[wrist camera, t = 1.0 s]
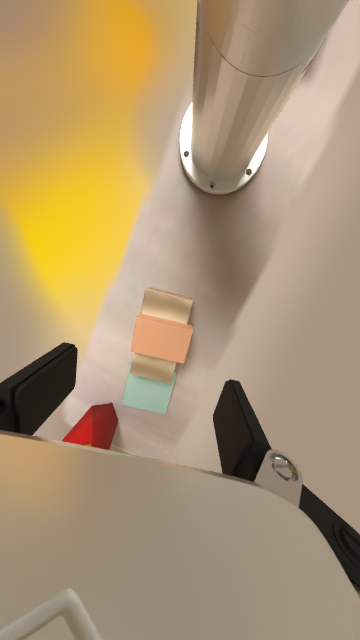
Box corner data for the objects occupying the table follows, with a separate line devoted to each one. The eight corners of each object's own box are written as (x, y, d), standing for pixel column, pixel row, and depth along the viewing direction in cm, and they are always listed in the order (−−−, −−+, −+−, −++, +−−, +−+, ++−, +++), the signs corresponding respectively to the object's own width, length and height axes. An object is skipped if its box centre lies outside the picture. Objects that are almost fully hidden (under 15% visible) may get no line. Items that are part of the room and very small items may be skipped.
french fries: (123, 422, 41) (90, 505, 26) (90, 427, 41) (40, 511, 27) (112, 391, 39) (69, 463, 24) (77, 396, 39) (14, 470, 25)
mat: (130, 361, 36) (129, 362, 36) (176, 372, 37) (176, 373, 37) (122, 404, 39) (122, 405, 39) (165, 413, 40) (165, 414, 40)
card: (140, 313, 29) (136, 317, 27) (192, 325, 30) (193, 330, 27) (134, 345, 31) (130, 351, 29) (183, 356, 31) (183, 363, 29)
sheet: (149, 287, 32) (145, 289, 28) (191, 297, 33) (192, 301, 29) (135, 362, 36) (129, 373, 33) (172, 371, 37) (171, 383, 33)
